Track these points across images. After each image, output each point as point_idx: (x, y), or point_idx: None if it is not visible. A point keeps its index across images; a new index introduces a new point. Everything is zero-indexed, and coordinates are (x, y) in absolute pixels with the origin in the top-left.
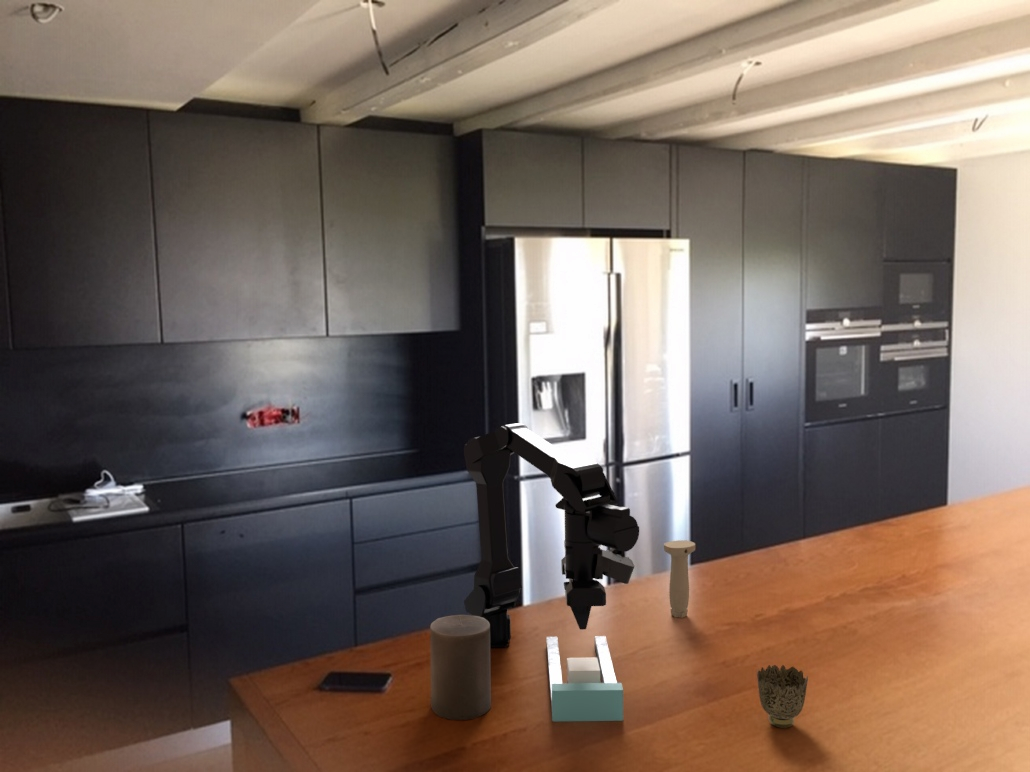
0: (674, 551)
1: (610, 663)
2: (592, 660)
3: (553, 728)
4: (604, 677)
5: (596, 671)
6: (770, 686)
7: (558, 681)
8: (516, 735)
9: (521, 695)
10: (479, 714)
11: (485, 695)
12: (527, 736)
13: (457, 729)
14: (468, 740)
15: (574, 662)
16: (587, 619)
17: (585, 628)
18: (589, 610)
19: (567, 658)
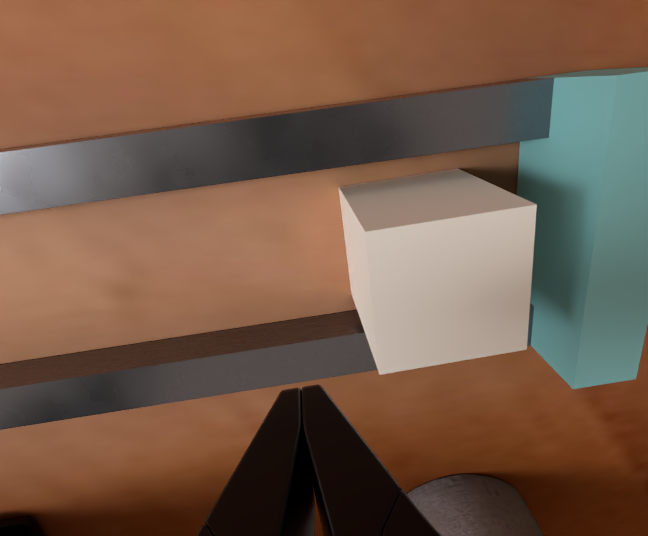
0: None
1: (151, 141)
2: (408, 253)
3: None
4: (318, 165)
5: (530, 222)
6: None
7: None
8: (620, 391)
9: (384, 418)
10: (515, 490)
11: (521, 524)
12: None
13: (567, 510)
14: (622, 480)
15: (431, 336)
16: (362, 441)
17: (324, 390)
18: (424, 523)
19: (387, 371)
